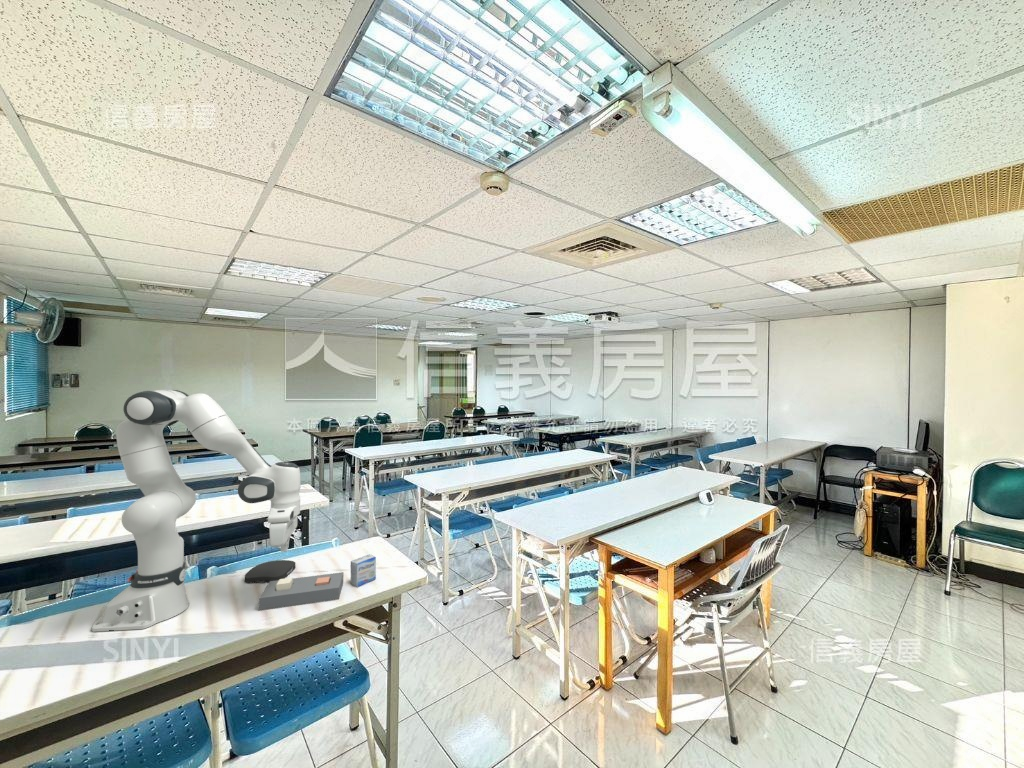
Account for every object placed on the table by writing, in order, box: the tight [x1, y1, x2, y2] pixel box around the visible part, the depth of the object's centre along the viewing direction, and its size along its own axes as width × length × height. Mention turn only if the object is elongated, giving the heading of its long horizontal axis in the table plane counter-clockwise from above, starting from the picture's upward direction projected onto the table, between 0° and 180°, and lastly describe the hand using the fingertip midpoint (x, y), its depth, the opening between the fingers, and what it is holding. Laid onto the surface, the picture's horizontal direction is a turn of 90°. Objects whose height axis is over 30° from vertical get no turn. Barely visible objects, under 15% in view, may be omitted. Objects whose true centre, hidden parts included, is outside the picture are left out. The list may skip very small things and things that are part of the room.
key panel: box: [258, 571, 344, 612], centre depth 136 cm, size 24×12×4 cm, turn 107°
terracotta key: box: [316, 577, 330, 586], centre depth 138 cm, size 4×4×3 cm
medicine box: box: [350, 553, 377, 588], centre depth 147 cm, size 8×4×9 cm, turn 143°
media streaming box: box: [244, 559, 296, 584], centre depth 153 cm, size 15×15×3 cm
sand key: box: [276, 577, 294, 591], centre depth 135 cm, size 4×4×3 cm
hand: (284, 550), depth 135 cm, fingers closed
